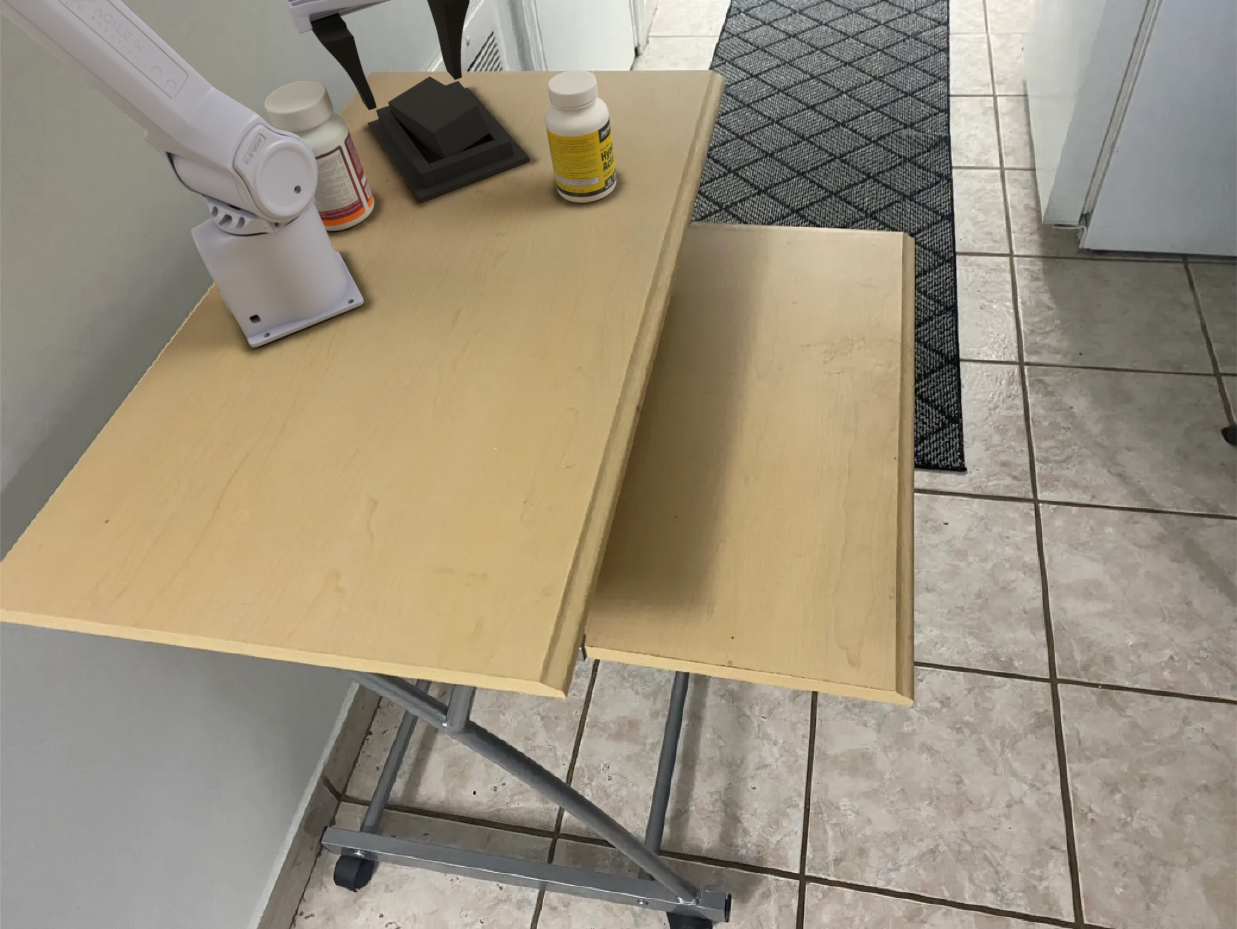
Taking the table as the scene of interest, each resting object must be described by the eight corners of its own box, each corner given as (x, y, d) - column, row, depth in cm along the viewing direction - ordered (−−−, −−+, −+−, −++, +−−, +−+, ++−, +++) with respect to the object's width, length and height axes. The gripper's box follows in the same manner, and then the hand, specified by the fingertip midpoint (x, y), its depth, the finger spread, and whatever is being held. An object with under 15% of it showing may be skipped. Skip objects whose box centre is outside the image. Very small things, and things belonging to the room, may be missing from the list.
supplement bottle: (617, 202, 79) (603, 95, 71) (555, 207, 79) (535, 102, 72) (618, 166, 82) (605, 61, 75) (559, 171, 83) (540, 68, 75)
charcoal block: (490, 133, 84) (477, 103, 82) (446, 161, 83) (432, 132, 81) (442, 103, 91) (429, 75, 88) (401, 129, 90) (387, 101, 87)
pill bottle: (337, 187, 85) (290, 71, 76) (389, 199, 83) (347, 81, 74) (295, 226, 82) (241, 109, 73) (348, 239, 80) (299, 120, 71)
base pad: (530, 161, 84) (526, 141, 83) (420, 203, 82) (413, 184, 80) (468, 91, 94) (464, 72, 92) (368, 127, 92) (362, 108, 90)
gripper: (433, -131, 70) (474, 43, 80) (250, -77, 67) (317, 97, 77) (465, -106, 66) (504, 75, 76) (272, -47, 62) (340, 133, 73)
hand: (412, 89), depth 76 cm, fingers open, 7 cm apart
